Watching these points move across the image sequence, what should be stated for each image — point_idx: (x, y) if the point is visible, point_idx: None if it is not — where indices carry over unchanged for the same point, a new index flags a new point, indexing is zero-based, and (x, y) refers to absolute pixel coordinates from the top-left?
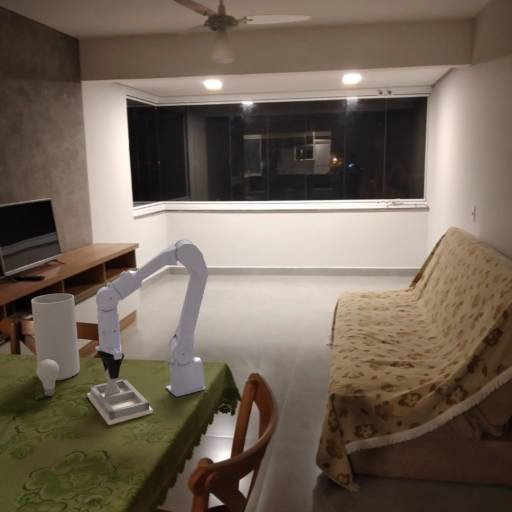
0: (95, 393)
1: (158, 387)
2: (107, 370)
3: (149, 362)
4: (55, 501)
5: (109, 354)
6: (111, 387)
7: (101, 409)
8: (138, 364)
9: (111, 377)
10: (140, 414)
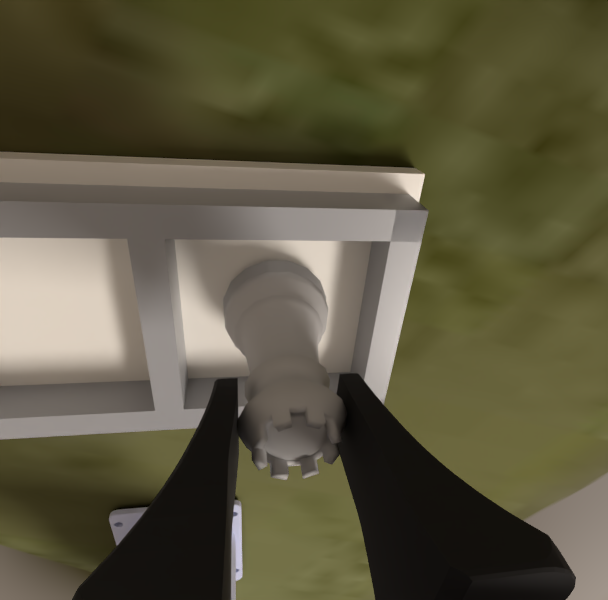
0: (271, 208)
1: (267, 477)
2: (277, 422)
3: (538, 498)
4: None
5: (401, 598)
6: (245, 331)
7: (77, 175)
8: (561, 467)
9: (213, 395)
10: None
